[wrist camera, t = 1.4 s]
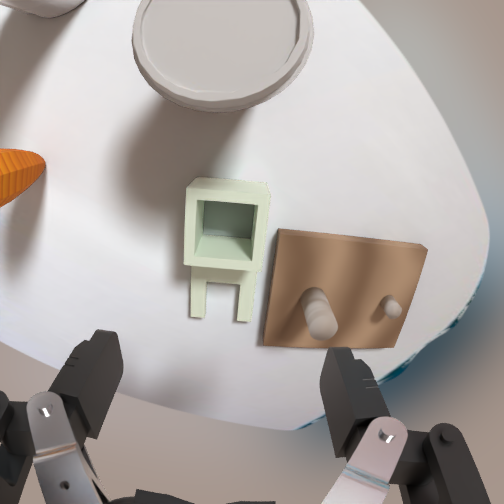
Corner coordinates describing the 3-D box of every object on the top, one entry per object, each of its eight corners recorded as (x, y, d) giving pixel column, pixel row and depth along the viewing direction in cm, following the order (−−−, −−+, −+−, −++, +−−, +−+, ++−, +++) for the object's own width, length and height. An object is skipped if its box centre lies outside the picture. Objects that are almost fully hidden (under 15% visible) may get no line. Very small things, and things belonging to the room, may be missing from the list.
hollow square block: (196, 176, 27) (186, 187, 22) (266, 182, 27) (270, 195, 22) (192, 311, 32) (184, 341, 27) (251, 316, 32) (251, 347, 27)
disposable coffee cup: (172, 118, 25) (118, 115, 14) (178, 17, 21) (135, -44, 10) (285, 121, 25) (315, 117, 14) (290, 19, 21) (319, -46, 10)
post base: (262, 336, 33) (265, 379, 27) (278, 228, 29) (286, 257, 23) (389, 339, 34) (409, 376, 28) (421, 244, 29) (454, 271, 23)
